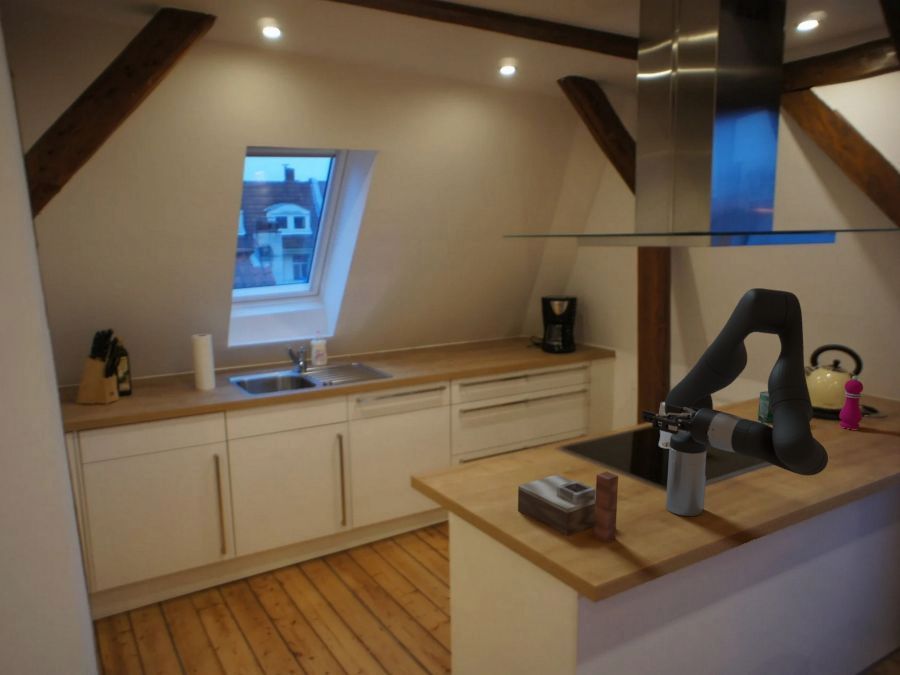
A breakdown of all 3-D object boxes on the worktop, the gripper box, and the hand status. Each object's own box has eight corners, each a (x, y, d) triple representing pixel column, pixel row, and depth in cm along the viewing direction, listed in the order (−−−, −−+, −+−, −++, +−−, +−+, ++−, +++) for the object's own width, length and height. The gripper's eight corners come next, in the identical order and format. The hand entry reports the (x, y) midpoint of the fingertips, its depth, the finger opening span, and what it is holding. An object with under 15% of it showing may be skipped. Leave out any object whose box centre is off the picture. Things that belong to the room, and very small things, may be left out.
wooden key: (603, 533, 167) (606, 471, 164) (615, 538, 164) (618, 476, 161) (593, 536, 165) (596, 474, 162) (605, 542, 162) (608, 479, 159)
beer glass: (678, 450, 227) (680, 407, 225) (656, 448, 230) (659, 405, 227) (678, 444, 234) (681, 402, 231) (657, 442, 236) (660, 400, 234)
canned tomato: (778, 425, 256) (780, 397, 254) (755, 422, 260) (758, 394, 258) (781, 420, 262) (783, 393, 261) (759, 417, 267) (761, 390, 265)
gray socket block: (555, 498, 188) (556, 465, 186) (605, 521, 173) (607, 486, 172) (517, 510, 180) (518, 476, 178) (566, 535, 165) (567, 499, 164)
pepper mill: (833, 425, 257) (839, 374, 253) (851, 424, 257) (857, 373, 254) (847, 431, 250) (852, 378, 246) (865, 430, 250) (871, 378, 247)
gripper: (741, 407, 141) (676, 391, 154) (701, 418, 133) (635, 400, 146) (739, 441, 143) (674, 422, 156) (698, 454, 134) (633, 433, 147)
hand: (655, 412), depth 151 cm, fingers open, 8 cm apart
